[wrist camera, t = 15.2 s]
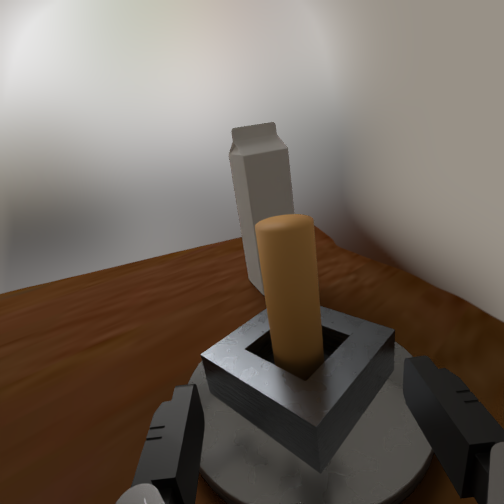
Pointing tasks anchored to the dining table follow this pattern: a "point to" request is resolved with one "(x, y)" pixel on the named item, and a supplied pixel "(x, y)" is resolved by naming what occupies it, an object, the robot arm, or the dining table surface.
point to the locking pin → (291, 292)
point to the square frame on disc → (310, 419)
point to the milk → (259, 185)
